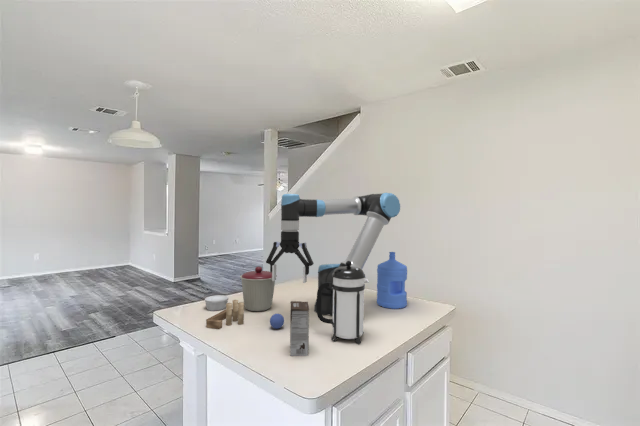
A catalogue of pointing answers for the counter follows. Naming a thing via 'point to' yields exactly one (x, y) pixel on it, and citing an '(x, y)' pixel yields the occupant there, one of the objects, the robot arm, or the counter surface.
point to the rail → (216, 320)
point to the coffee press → (346, 302)
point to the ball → (277, 321)
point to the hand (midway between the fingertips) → (289, 281)
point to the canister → (257, 289)
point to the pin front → (240, 313)
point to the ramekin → (216, 302)
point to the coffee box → (299, 328)
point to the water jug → (391, 283)
